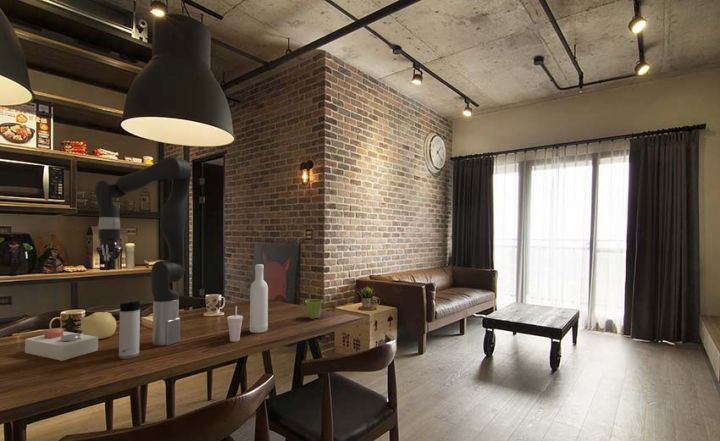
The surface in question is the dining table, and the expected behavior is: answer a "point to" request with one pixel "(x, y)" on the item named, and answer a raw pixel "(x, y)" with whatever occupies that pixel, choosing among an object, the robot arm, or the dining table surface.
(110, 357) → the dining table surface
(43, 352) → the socket panel
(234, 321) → the smoothie
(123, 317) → the travel mug
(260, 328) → the bottle
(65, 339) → the grey cube
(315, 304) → the plant pot
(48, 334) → the pink gift box
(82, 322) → the pale yellow round lump
